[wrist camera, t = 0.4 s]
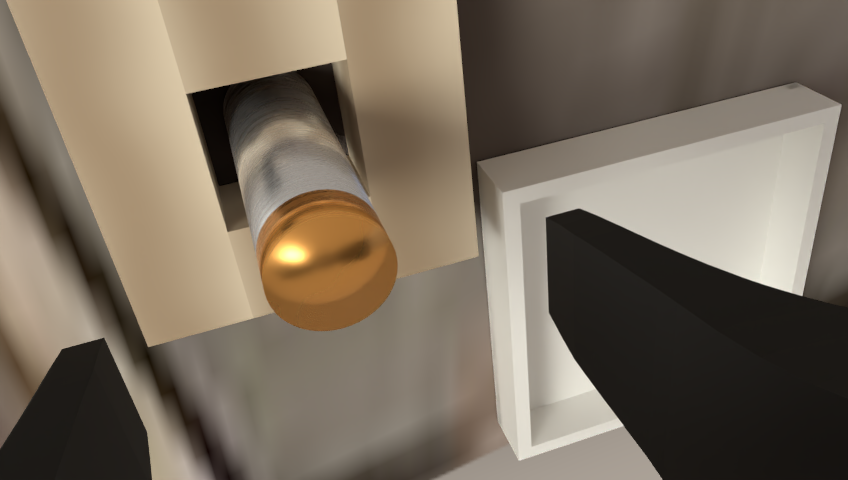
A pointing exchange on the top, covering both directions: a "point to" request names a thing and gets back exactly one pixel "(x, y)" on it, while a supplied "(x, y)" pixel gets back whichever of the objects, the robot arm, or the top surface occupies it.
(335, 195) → the pin
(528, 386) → the tray
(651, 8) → the top surface
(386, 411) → the top surface
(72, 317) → the top surface
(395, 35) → the block
